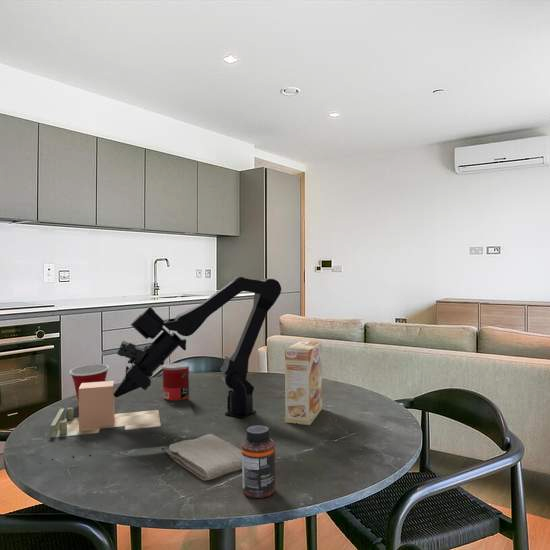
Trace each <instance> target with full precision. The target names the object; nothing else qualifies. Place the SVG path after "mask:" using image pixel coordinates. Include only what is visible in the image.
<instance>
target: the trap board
mask: <svg viewBox="0 0 550 550" xmlns="http://www.w3.org/2000/svg"><path fill="white" fill-rule="evenodd" d="M65 409H66V410H65ZM65 411H66V417H65ZM116 427H117V428H119V427H121V428H122V427H124V430H125V431H129V430H136V429H147V428H155V427H161V419H160V412H159V409H152V410H144V411H142V410H141V411H135V412H134V411H133V412H121V413H115V419H114V426H107V427H97V428H87V429H79V416H77V417H74V407H67V408H62V407H60V408H59V410H58V412H57V414H56V416H55V417H54V419H53V421H52V422H51V423H50V438H53V439H54V438H59V437H60V438H62V437H71V436H80V435H90V434H99V433H100V430H101V429H109V428H110V429H111V428H116Z"/></svg>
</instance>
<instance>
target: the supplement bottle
mask: <svg viewBox="0 0 550 550" xmlns="http://www.w3.org/2000/svg"><path fill="white" fill-rule="evenodd" d="M275 448H276V447H275V442H274V440H273V439H272V438H270V429H269V427H268V426H265V425H251V426H249V427H248V428H247V429H246V438H245V439H244V440H243V441H242V444H241V450H242V469H241V470H242V472H241V475H242V476H241V482H242V485H241V487H242V492H243V494H244V495H245V496H247V497H249V498H254V499H263V498H266V497H269V496H271V495H273V494H274V492H275V491H276V458H275V457H276V455H275V454H276V452H275V451H276V450H275Z"/></svg>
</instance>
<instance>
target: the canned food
mask: <svg viewBox="0 0 550 550" xmlns="http://www.w3.org/2000/svg"><path fill="white" fill-rule="evenodd" d="M189 366H190V365H189V364H188V363H184V362H173V363H167V364H163V365H162V396H163V397H162V398H163V399H164V400H167V401H181V400H183V401H184V400H186V399H187V401H189V399H190V367H189Z"/></svg>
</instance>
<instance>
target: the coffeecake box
mask: <svg viewBox="0 0 550 550" xmlns="http://www.w3.org/2000/svg"><path fill="white" fill-rule="evenodd" d="M322 344H323V343H322V341H314V340H313V341H312V340H311V341H309V340H299V341H298V342H296V343H293V344H292V345H290V346H288V347H286V348H284V405H285V406H284V411H285V413H284V414H285V419H284V421H285V422H284V423H288V424H290V423H291V424H296V423H297V425H305V426H311V424H312V423H313V422H314V420H315V419H316V417H317V416H318V415H319V413H320V412H321V411H322V409H323V388H322V387H323V379H322V378H323V370H322V369H323V367H322V366H323V363H322V362H323V360H322V359H323V357H322V356H323V355H322V354H323V353H322V351H323V349H322V348H323V345H322Z"/></svg>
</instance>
